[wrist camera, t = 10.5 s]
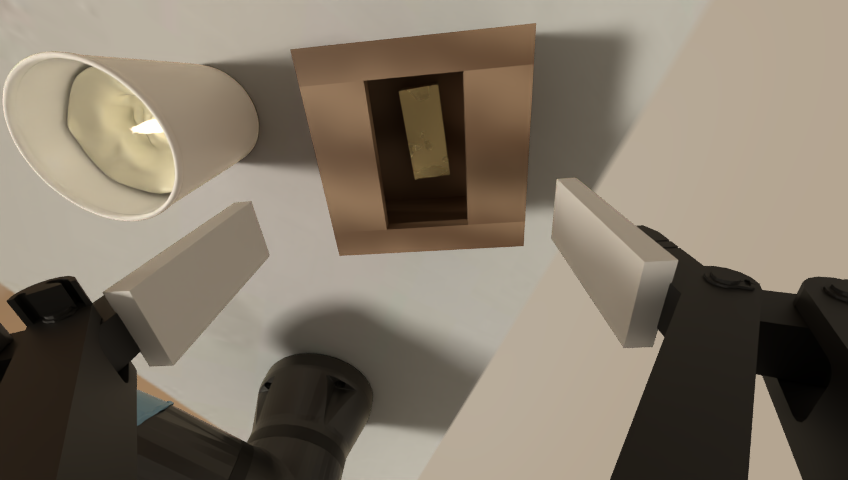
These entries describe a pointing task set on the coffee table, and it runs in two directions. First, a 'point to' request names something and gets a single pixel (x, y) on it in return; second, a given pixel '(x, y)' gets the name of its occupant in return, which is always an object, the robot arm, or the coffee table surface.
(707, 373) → the robot arm
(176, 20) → the coffee table surface
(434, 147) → the yellow rectangular block
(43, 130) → the candle holder
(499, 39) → the box
